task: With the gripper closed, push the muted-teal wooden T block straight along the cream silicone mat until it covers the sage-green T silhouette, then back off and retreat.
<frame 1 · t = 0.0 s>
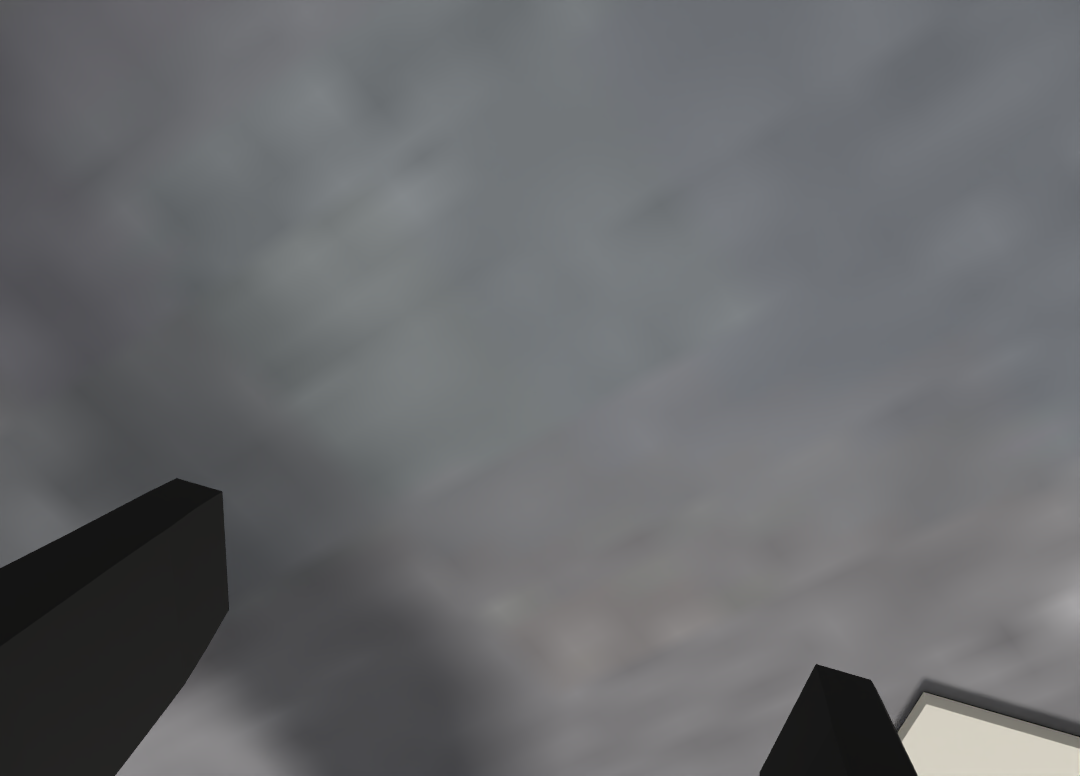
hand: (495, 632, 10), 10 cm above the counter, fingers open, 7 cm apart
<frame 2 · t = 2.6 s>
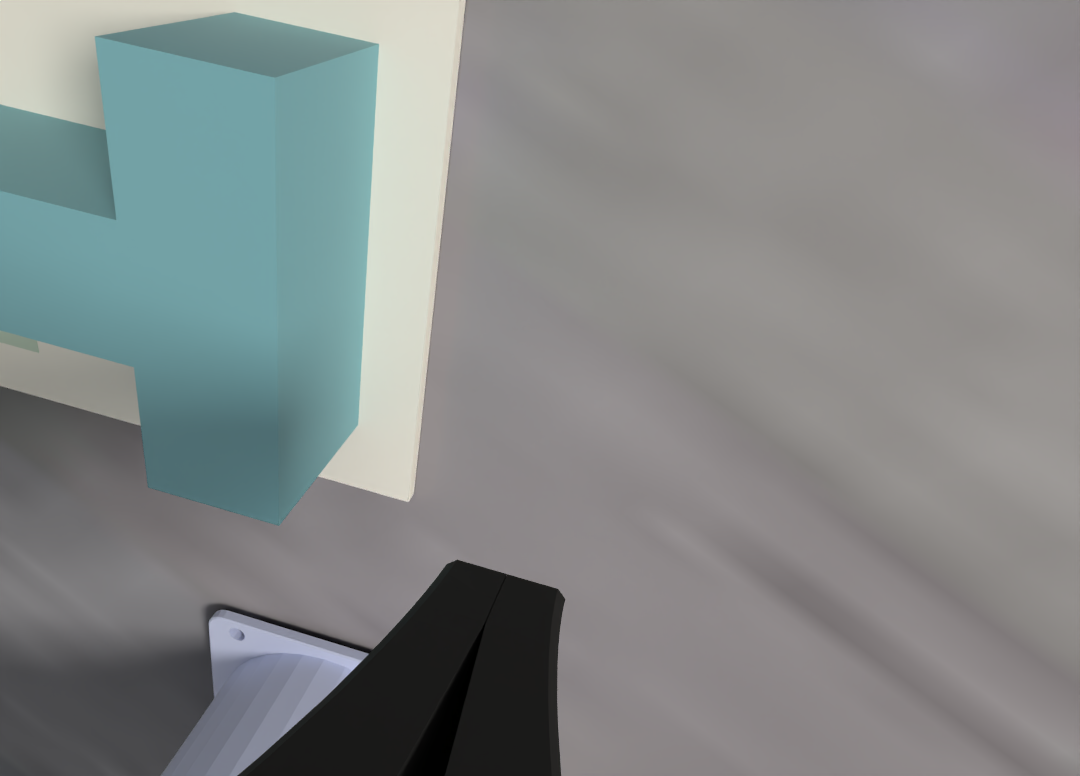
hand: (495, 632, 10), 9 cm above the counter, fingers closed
mat: (17, 163, 19), on the counter
tee block: (304, 243, 18), resting on mat
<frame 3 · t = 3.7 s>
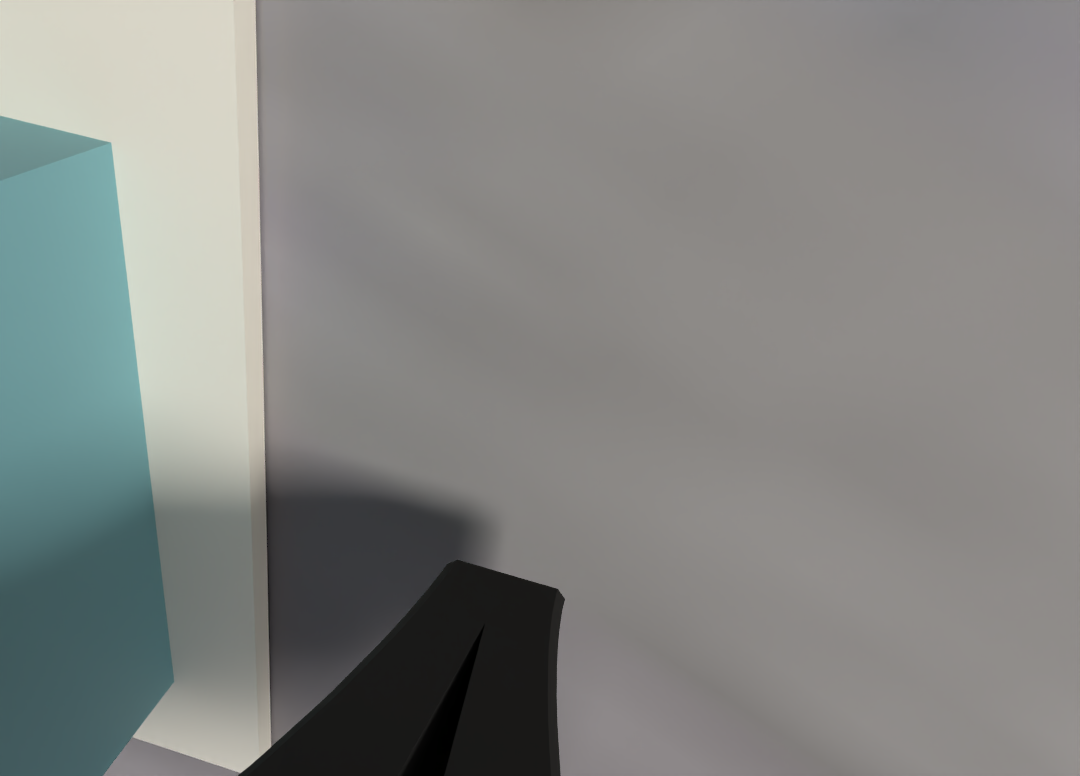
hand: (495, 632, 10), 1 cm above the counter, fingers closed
tee block: (51, 441, 11), resting on mat
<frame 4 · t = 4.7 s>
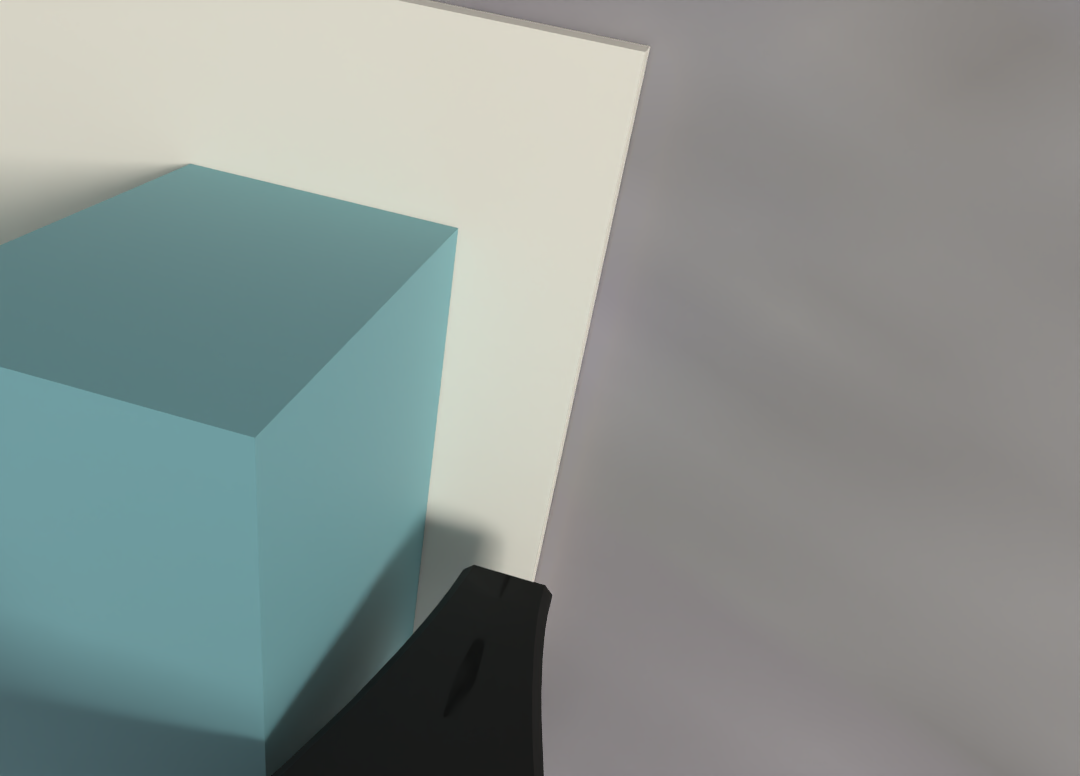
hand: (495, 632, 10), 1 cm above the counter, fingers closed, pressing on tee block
tee block: (316, 518, 11), resting on mat, touching gripper
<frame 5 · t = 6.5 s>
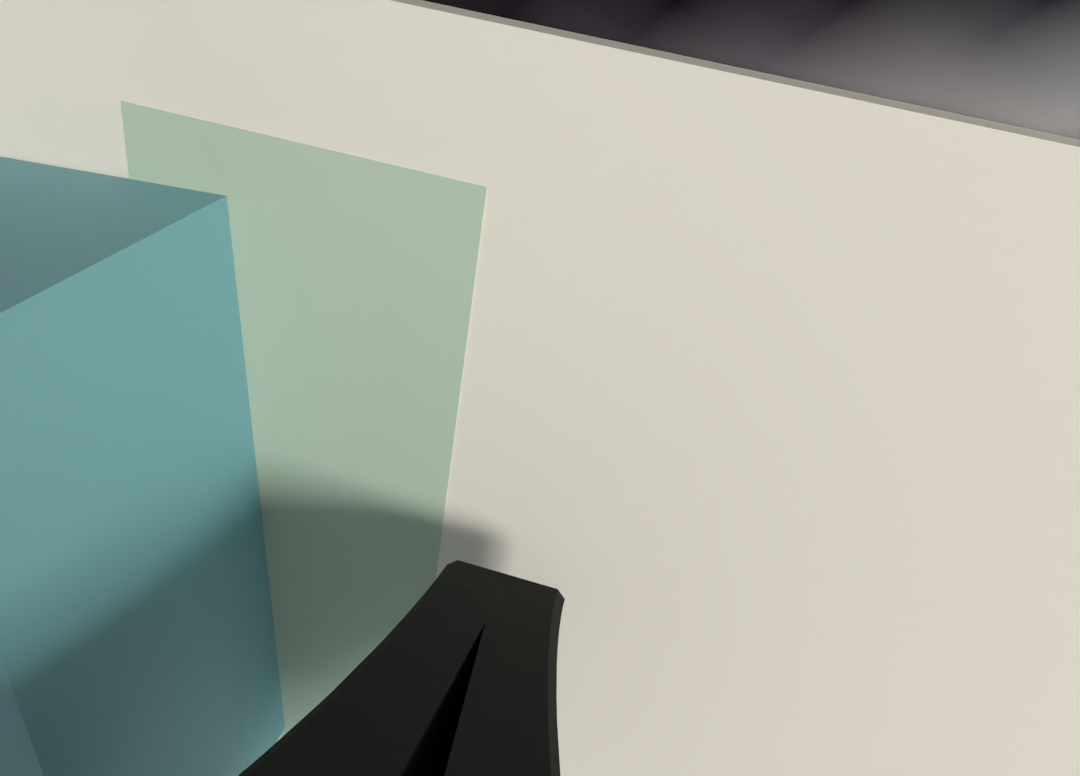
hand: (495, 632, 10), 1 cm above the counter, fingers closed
mat: (448, 534, 11), on the counter
tee block: (162, 494, 11), resting on mat
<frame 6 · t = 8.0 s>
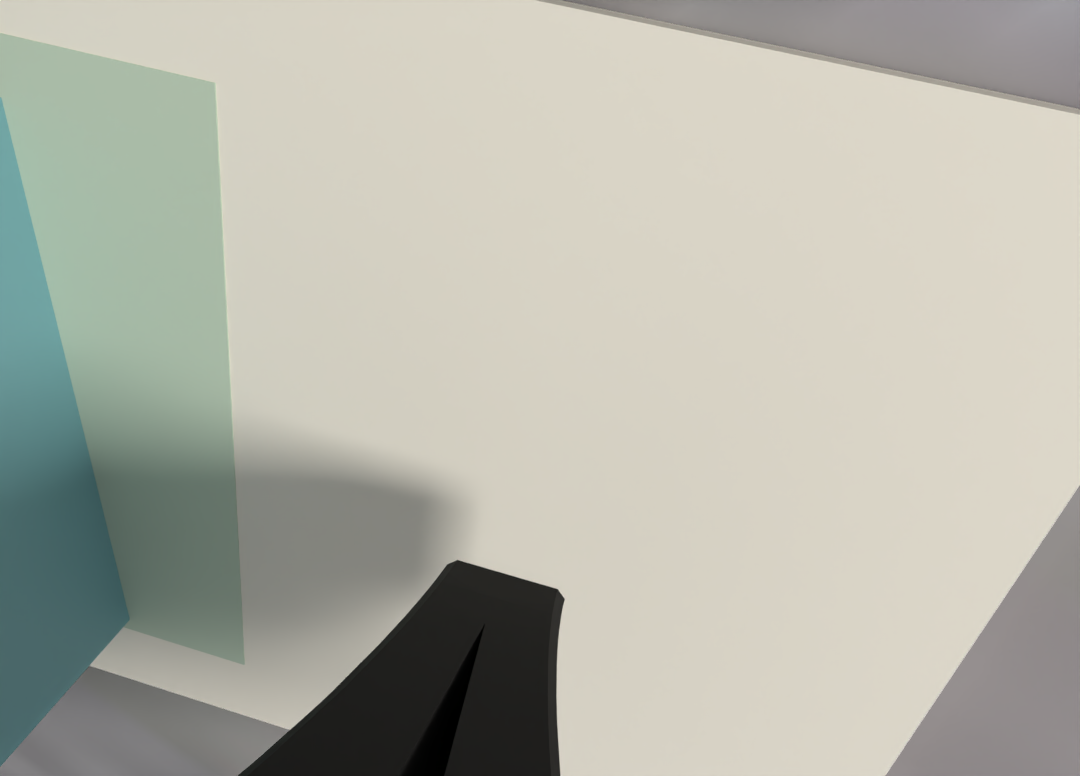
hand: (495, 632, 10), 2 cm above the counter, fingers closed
mat: (248, 424, 12), on the counter
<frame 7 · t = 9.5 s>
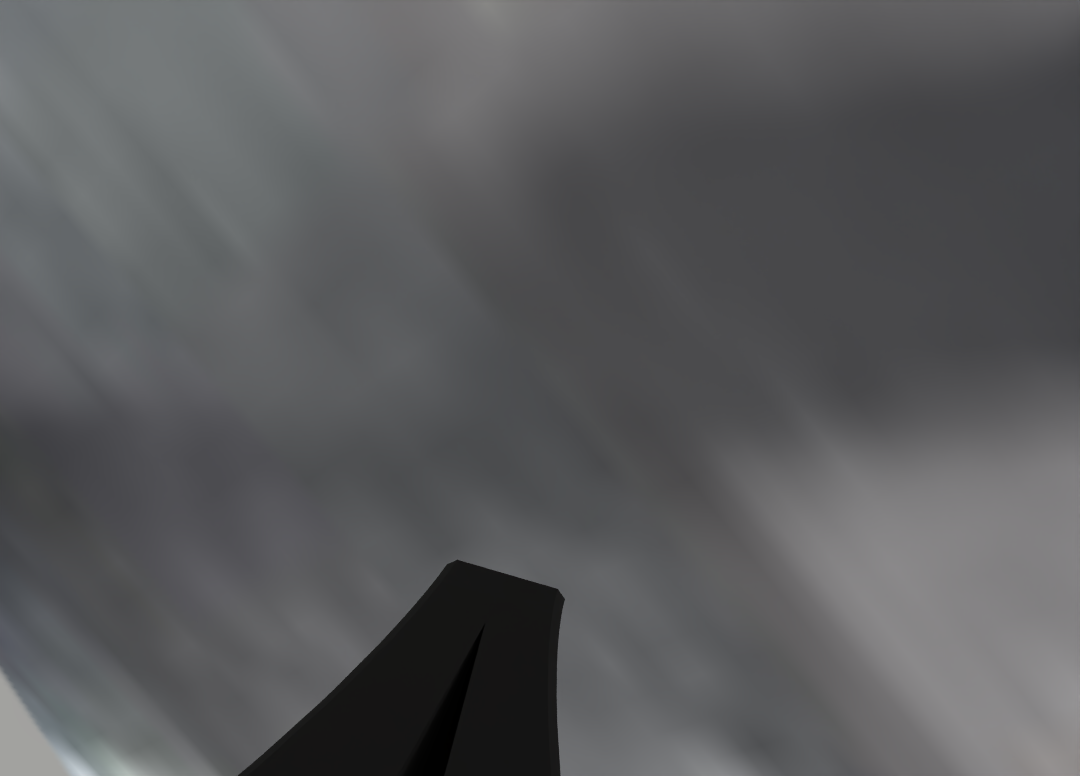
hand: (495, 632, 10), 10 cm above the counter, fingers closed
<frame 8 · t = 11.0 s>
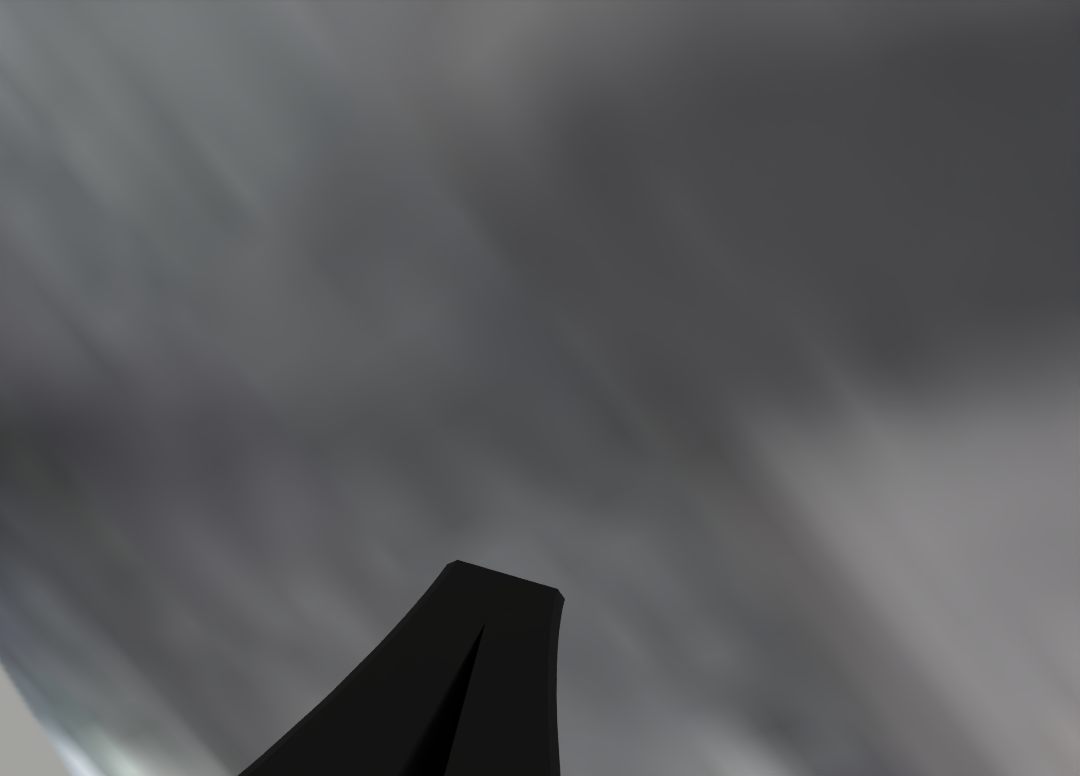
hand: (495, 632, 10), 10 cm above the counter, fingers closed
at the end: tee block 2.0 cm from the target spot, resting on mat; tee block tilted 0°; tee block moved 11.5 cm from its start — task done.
